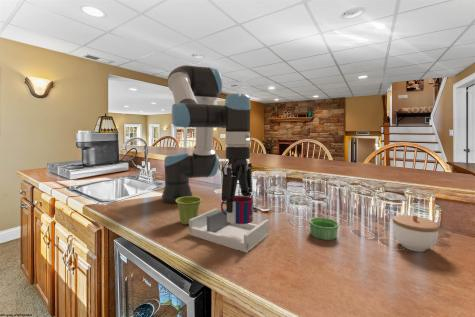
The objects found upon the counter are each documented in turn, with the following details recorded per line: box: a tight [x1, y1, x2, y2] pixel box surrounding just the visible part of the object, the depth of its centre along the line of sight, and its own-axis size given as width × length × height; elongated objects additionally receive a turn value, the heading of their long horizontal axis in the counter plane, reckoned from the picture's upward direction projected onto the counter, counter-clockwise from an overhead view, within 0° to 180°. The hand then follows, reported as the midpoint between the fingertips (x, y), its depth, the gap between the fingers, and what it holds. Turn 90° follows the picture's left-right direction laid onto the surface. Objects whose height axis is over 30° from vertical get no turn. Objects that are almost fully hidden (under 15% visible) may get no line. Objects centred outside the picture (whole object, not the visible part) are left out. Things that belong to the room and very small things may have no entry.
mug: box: [220, 195, 254, 224], centre depth 73 cm, size 7×10×7 cm
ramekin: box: [309, 216, 340, 241], centre depth 76 cm, size 9×9×4 cm
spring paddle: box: [207, 207, 230, 233], centre depth 78 cm, size 1×11×6 cm, turn 147°
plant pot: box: [176, 196, 202, 225], centre depth 87 cm, size 9×9×9 cm
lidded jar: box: [392, 214, 440, 253], centre depth 68 cm, size 11×11×9 cm
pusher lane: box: [188, 208, 270, 254], centre depth 76 cm, size 22×14×5 cm, turn 57°
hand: (237, 218), depth 73 cm, fingers closed on mug, 7 cm apart
